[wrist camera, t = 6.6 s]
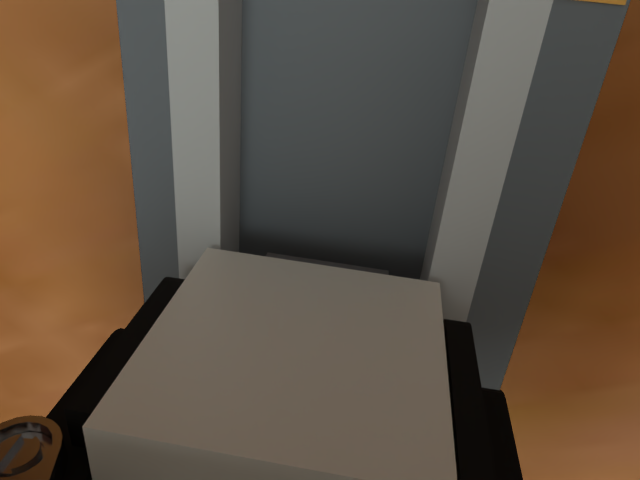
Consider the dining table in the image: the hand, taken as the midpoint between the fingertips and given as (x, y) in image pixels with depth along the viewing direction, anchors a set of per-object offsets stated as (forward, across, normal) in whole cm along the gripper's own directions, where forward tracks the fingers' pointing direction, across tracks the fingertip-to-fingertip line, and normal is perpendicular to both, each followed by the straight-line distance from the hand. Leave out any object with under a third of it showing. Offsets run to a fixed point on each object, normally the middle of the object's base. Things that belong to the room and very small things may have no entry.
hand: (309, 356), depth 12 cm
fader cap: (+2, 0, 0) cm, 2 cm away
